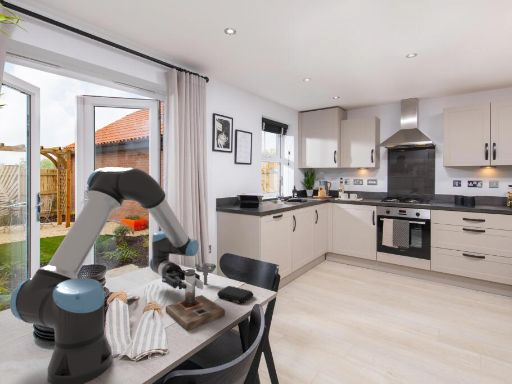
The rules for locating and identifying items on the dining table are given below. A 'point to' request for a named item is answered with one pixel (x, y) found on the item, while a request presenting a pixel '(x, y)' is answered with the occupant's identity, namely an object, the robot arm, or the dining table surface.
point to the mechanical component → (205, 269)
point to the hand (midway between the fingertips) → (197, 287)
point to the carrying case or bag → (235, 294)
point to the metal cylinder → (191, 279)
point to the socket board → (195, 312)
